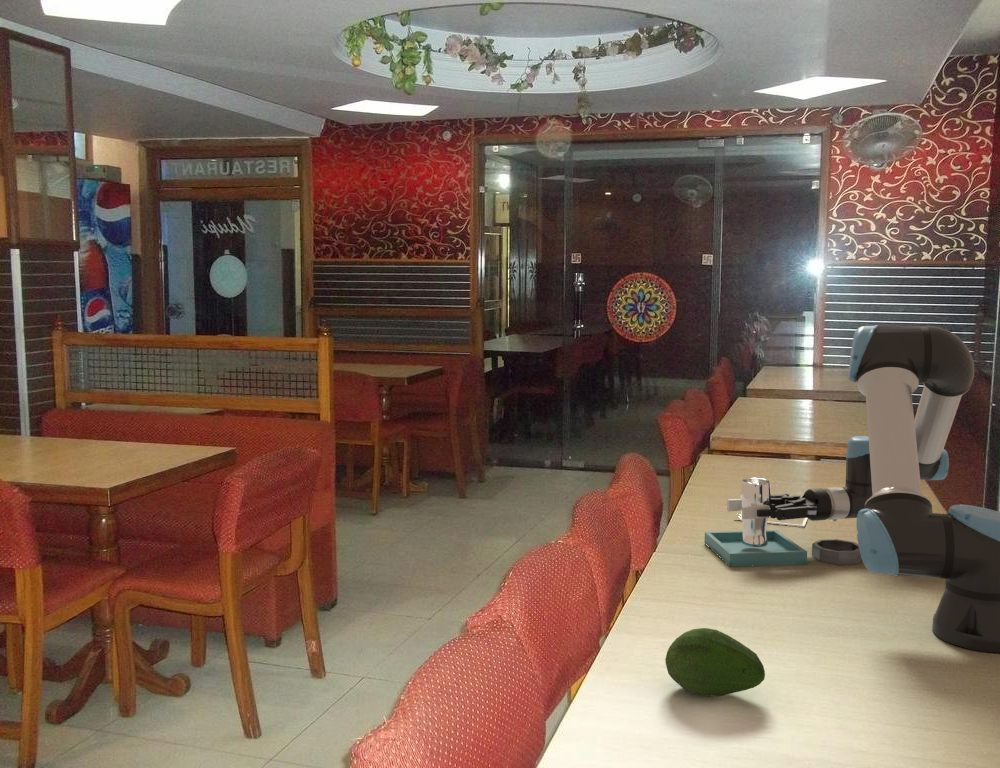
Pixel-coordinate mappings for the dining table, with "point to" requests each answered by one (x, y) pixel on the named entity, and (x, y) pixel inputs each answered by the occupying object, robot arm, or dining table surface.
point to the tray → (756, 549)
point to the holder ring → (836, 552)
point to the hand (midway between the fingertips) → (735, 509)
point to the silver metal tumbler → (755, 495)
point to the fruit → (713, 663)
